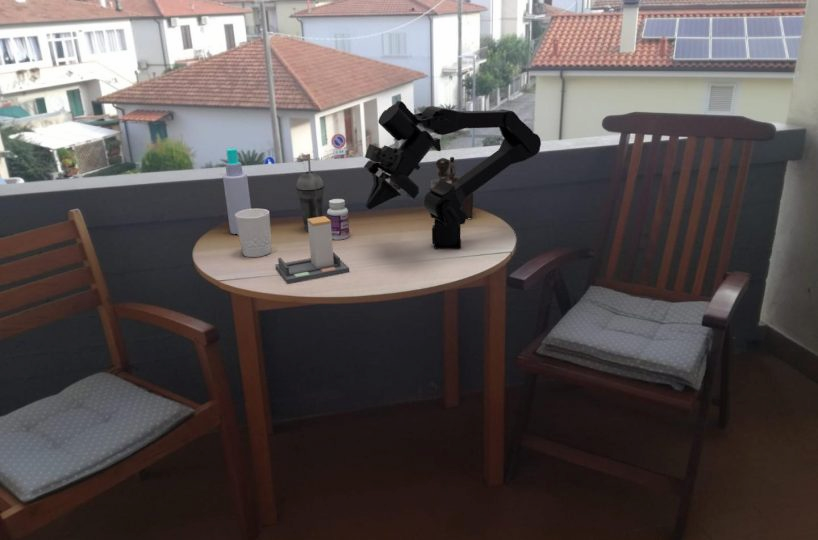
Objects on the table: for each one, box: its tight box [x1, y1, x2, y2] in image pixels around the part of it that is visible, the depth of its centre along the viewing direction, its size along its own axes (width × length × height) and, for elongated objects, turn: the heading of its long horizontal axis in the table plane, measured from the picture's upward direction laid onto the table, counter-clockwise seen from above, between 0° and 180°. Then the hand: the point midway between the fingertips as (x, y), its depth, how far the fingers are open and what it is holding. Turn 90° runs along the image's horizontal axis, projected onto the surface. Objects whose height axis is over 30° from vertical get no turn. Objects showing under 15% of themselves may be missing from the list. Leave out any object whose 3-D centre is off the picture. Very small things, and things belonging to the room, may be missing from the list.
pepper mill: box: [430, 156, 474, 220], centre depth 172 cm, size 16×11×18 cm
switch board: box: [274, 251, 350, 285], centre depth 140 cm, size 14×10×3 cm
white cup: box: [235, 208, 272, 258], centre depth 151 cm, size 8×8×10 cm
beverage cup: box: [295, 153, 325, 233], centre depth 165 cm, size 7×7×20 cm
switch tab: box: [307, 215, 334, 268], centre depth 139 cm, size 4×4×10 cm
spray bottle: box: [222, 148, 252, 236], centre depth 164 cm, size 6×6×22 cm
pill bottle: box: [326, 198, 350, 241], centre depth 160 cm, size 5×5×10 cm
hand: (367, 207), depth 142 cm, fingers closed
